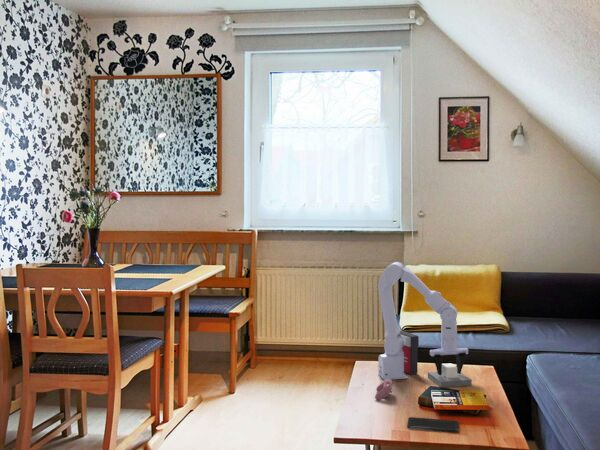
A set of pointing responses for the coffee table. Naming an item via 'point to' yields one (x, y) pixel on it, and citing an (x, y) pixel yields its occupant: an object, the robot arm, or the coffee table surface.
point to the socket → (449, 380)
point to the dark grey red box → (410, 352)
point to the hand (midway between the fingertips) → (449, 373)
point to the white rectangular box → (449, 370)
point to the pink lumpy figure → (384, 389)
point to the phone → (433, 425)
